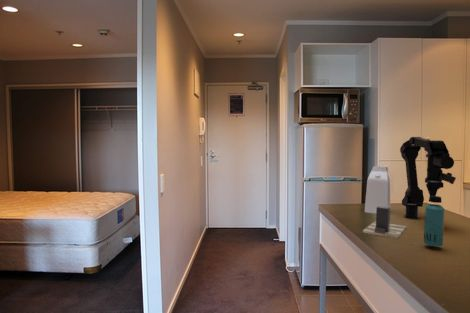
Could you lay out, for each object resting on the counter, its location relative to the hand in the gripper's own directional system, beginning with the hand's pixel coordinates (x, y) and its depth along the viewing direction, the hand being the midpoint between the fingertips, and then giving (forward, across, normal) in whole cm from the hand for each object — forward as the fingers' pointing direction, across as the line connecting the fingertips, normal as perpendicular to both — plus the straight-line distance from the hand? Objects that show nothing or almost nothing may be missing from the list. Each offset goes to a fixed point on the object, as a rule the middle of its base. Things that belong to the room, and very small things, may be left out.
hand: (432, 200), depth 152 cm
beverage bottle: (+13, -34, +2) cm, 36 cm away
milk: (+13, +24, +25) cm, 37 cm away
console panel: (+13, -17, +19) cm, 29 cm away
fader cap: (+12, -22, +20) cm, 32 cm away
